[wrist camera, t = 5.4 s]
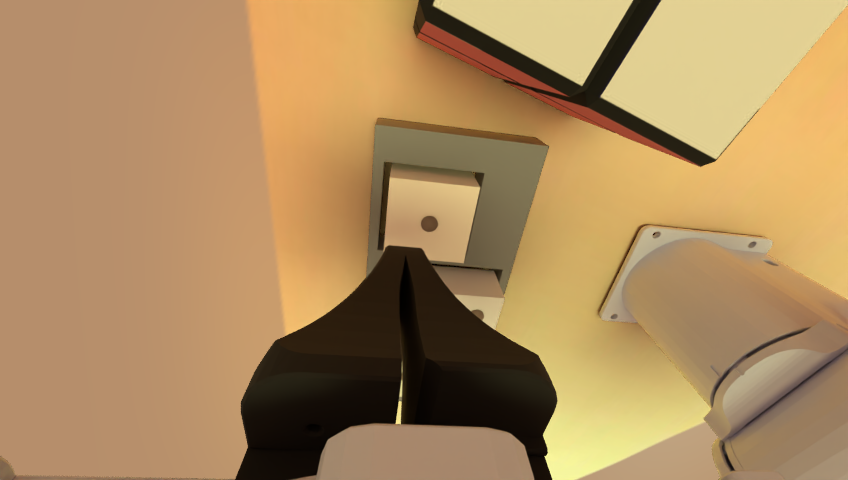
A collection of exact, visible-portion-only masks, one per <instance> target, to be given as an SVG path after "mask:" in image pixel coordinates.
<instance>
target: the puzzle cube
mask: <svg viewBox="0 0 848 480" xmlns="http://www.w3.org/2000/svg"><path fill="white" fill-rule="evenodd" d="M847 5H848V0H419V3H418V7H417V12H416V16H415V21H414V26H413V28H414V31H415V34H416V37H417V38H419V39H421V40H423V41H425V42H427V43H429V44H431V45H433V46H435V47H437V48H439V49H441V50H443V51H445V52H447V53H449V54H451V55H453V56H455V57H457V58H458V59H460V60H462V61H464V62H466V63H468V64H470V65H472V66H474V67H476V68H478V69H480V70H482V71H484V72H486V73H488V74H490V75H492V76H494V77H497V78H501V79H504V81H505V82H506V83H508V84H510V85H512V86H514V87H516V88H518V89H520V90H522V91H524V92H526V93H528V94H529V95H531V96H533V97H535V98H537V99H539V100H541V101H543V102H545V103H547V104H549V105H551V106H553V107H555V108H557V109H559V110H561V111H563V112H565V113H567V114H569V115H571V116H573V117H575V118H578V119H581V120H583V121H586V122H588V123H591V124H593V125H596V126H599V127H601V128H604V129H606V130H609V131H611V132H614V133H617V134H619V135H621V136H623V137H626V138H628V139H631V140H633V141H636V142H638V143H641V144H643V145H646V146H649V147H651V148H654V149H656V150H659V151H661V152H664V153H666V154H669V155H672V156H674V157H677V158H679V159H682V160H684V161H687V162H689V163H692V164H695V165H697V166H700V167H701V166H703V165H706V164H709V163H712V162H715V161H716V160H717V159H718V158H719V156H720V155H721V154H722V153H723V152H724V150H725V149H726V148H727V147H728V146H729V145H730V143H731V142H732V141H733V140H734V139H735V137H736V136H737V135H738V134H739V133H740V132H741V130H742V129H743V128H744V127H745V126H746V124H747V123H748V122H749V121H750V120H751V119H752V117H753V116H754V115H755V114H756V113H757V112H758V110H759V109H760V108H761V107H762V106H763V104H764V103H765V102H766V101H767V100H768V99H769V97H770V96H771V95H772V94H773V93H774V91H775V90H776V89H777V88H778V87H779V86H780V84H781V83H782V82H783V81H784V80H785V78H786V77H787V76H788V75H789V74H790V73H791V71H792V70H793V69H794V68H795V67H796V66H797V64H798V63H799V62H800V61H801V60H802V58H803V57H804V56H805V55H806V54H807V53H808V51H809V50H810V49H811V48H812V47H813V45H814V44H815V43H816V42H817V41H818V40H819V38H820V37H821V36H822V35H823V34H824V32H825V31H826V30H827V29H828V28H829V27H830V25H831V24H832V23H833V22H834V21H835V20H836V18H837V17H838V16H839V15H840V14H841V12H842V11H843V10H844V9H845V8H846V7H847Z"/></svg>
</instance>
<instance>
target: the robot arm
mask: <svg viewBox="0 0 848 480" xmlns="http://www.w3.org/2000/svg"><path fill="white" fill-rule="evenodd" d="M655 232H657V233H656V234H655V235H653V234H654V233H655ZM772 245H773V241H772V240H770V239H768V238H766V237H758V236H749V235H739V234H730V233H720V232H710V231H701V230H691V229H682V228H672V227H663V226H653V225H646V226H644V227H642V228H641V229H640V231H639V233H638V235H637V237H636V239H635V241H634V243H633V245H632V247H631V249H630V251H629V253H628V255H627V257H626V259H625V261H624V263H623V265H622V267H621V269H620V272H619V274H618V276H617V278H616V280H615V282H614V284H613V286H612V288H611V290H610V292H609V294H608V296H607V298H606V300H605V302H604V304H603V306H602V308H601V310H600V313H599V316H600V318H601V319H602V320H604V321H616V322H629V323H639V324H640V325H641V327H642V328H643V329H644V330H645V331H646V333H647V334H648V335H649V336H650V337H651V338H652V340H653V341H654V342H655V343H656V344H657V345H658V347H659V348H660V349H661V350H662V351H663V352H664V354H665V355H666V356H667V357H668V358H669V359H670V361H671V362H672V363H673V364H674V365H675V367H676V368H677V369H678V370H679V371H680V372H681V374H682V375H683V376H684V377H685V378H686V379H687V381H688V382H689V383H690V384H691V385H692V386H693V388H694V389H695V390H696V391H697V392H698V394H699V395H700V396H701V397H702V398H703V399H704V401H705V402H706V403H707V404H708V405H709V406H710V408H711V410H710V412H709V413H708V414H707V415H706V416H705V417H704V420H705V421H706V423H707V424H708V425H709V426H710V427H711V429H712V430H713V431H714V432H715V434H716V435H717V436H718V437H719V438H717V439H716V440H715V442H714V443H713V445H712V456H713V460H714V463H715V466H716V468H717V470H718V474H719V476H720V478H719V479H718V480H848V300H847V299H845V298H844V297H842V296H840V295H838V294H836V293H835V292H833V291H831V290H829V289H828V288H826V287H824V286H822V285H820V284H819V283H817V282H815V281H813V280H812V279H810V278H808V277H806V276H804V275H803V274H801V273H799V272H797V271H795V270H794V269H792V268H790V267H788V266H787V265H785V264H783V263H781V262H779V261H778V260H776V259H774V258H772V257H771V256H769V255H767V252H768V251H769V249H770V248H771V247H772ZM613 314H614V315H613ZM400 340H401V341H400ZM402 375H403V378H402ZM401 379H402V408H401V424H395V423H396V416H397V409H398V402H399V395H400V388H401ZM556 404H557V395H556V391H555V388H554V386H553V384H552V381H551V379H550V377H549V375H548V373H547V371H546V369H545V367H544V365H543V364H542V362H541V360H540V358H539V356H538V355H537V354H535V353H533V352H531V351H530V350H528V349H526V348H524V347H522V346H520V345H518V344H517V343H515V342H513V341H511V340H510V339H508V338H506V337H505V336H503V335H502V334H500V333H499V332H497V331H496V330H494V329H493V328H491V327H490V326H489V325H487V324H486V323H485V322H483V321H482V320H481V319H480V318H478V317H477V316H476V315H475V314H473V313H472V312H471V311H470V310H469V309H468V308H467V307H466V306H465V305H464V304H462V303H461V302H460V301H459V300H458V299H457V298H456V297H455V295H454V294H453V293H452V292H451V291H450V289H449V288H448V287H447V286H446V284H445V283H444V282H443V281H442V279H441V278H440V276H439V275H438V273H437V272H436V271H435V269H434V268H433V266H432V264H431V263H430V261H429V259H428V258H427V256H426V254H425V252H424V250H423V249H422V248H416V247H404V246H393V245H388V246H387V247H385V250H384V252H383V254H382V256H381V258H380V260H379V261H378V263H377V264H376V266H375V267H374V268H373V270H372V271H371V273H370V274H369V275H368V276H367V277H366V279H365V280H364V281H363V282H362V283H361V284H360V285H359V286H358V288H357V289H356V290H355V291H354V292H353V293H352V294H350V295H349V296H348V297H347V298H346V299H345V300H344V301H342V302H341V303H340V304H339V305H337V306H336V307H335V308H334V309H332V310H331V311H330V312H328V313H327V314H325V315H324V316H322V317H321V318H319V319H317V320H316V321H314V322H313V323H311V324H309V325H307V326H305V327H304V328H302V329H299V330H297V331H295V332H293V333H291V334H289V335H287V336H285V337H283V338H280V339H278V340H276V341H275V342H274V343H273V345H272V346H271V347H270V349H269V350H268V352H267V353H266V355H265V356H264V358H263V359H262V361H261V362H260V364H259V366H258V367H257V369H256V371H255V372H254V375H253V377H252V379H251V381H250V383H249V386H248V388H247V390H246V392H245V394H244V396H243V399H242V401H241V415H242V420H243V425H244V430H245V434H246V439H247V444H248V449H247V451H246V454H245V456H244V459H243V461H242V464H241V466H240V469H239V471H238V474H237V476H236V479H197V478H141V477H86V476H85V477H84V476H82V477H81V476H31V475H30V476H29V475H15V472H14V470H13V468H12V466H11V465H10V464H9V462H8V461H7V460H5V459H4V458H3V457H1V456H0V480H552V477H551V474H550V471H549V469H548V466H547V463H546V460H545V457H544V456H546V455H547V453H548V452H547V446H546V443H545V440H544V438H543V433H544V431H545V429H546V427H547V425H548V423H549V421H550V419H551V417H552V415H553V413H554V411H555V408H556Z"/></svg>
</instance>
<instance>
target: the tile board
mask: <svg viewBox="0 0 848 480" xmlns="http://www.w3.org/2000/svg"><path fill="white" fill-rule="evenodd" d="M548 148H549V146H548V145H546V144H545V143H543V142H542V141H540V140H539V139H537V138H533V137H526V136H518V135H510V134H502V133H494V132H486V131H478V130H471V129H463V128H455V127H447V126H439V125H431V124H424V123H416V122H408V121H400V120H392V119H384V118H378V120H377V122H376V124H375V139H374V156H373V173H372V190H371V207H370V225H369V242H368V259H367V276H368V275H369V274H370V273H371V271H372V270H373V268H374V267H375V266H376V264H377V263H378V261H379V260H380V258H381V256H382V254H383V252H384V241H385V235H380V225H381V212H382V198H383V185H384V172H385V162H392V163H401V164H410V165H418V166H427V167H436V168H444V169H453V170H462V171H470V172H476V174H475V179H476V181H477V182H478V184H479V186H480V191H479V195H478V200H477V205H476V209H475V214H474V218H473V223H472V227H471V232H470V236H469V241H468V246H467V250H466V255H465V259H464V263H455V262H444V261H433V260H429V261H430V263H432V264H444V265H455V266H467V267H478V268H490V269H491V271H494V272H495V275H496V277H497V280H498V282H499V285H500V287H501V290H502V292H503V295H504V293H505V290H506V287H507V283H508V280H509V277H510V273H511V270H512V267H513V264H514V260H515V257H516V254H517V250H518V247H519V244H520V241H521V237H522V234H523V231H524V227H525V224H526V221H527V217H528V214H529V211H530V208H531V204H532V201H533V198H534V194H535V191H536V188H537V185H538V181H539V178H540V175H541V171H542V168H543V165H544V161H545V158H546V155H547V152H548ZM367 276H366V277H367ZM399 401H402V397H399Z"/></svg>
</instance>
